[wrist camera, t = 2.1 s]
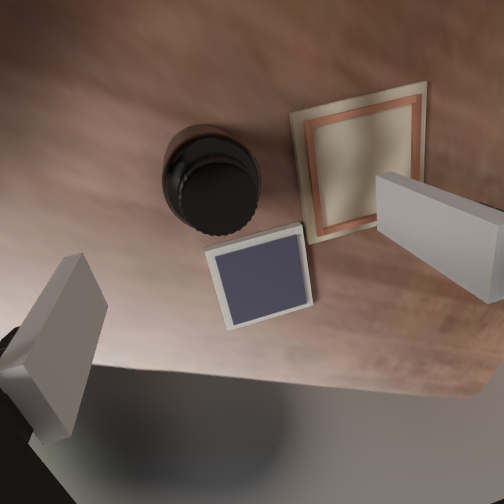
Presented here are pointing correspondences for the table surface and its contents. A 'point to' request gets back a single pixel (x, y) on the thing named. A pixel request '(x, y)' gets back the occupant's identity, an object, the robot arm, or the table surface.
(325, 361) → the table surface
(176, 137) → the supplement bottle
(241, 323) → the ink pad
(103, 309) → the robot arm
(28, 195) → the table surface
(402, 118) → the board
